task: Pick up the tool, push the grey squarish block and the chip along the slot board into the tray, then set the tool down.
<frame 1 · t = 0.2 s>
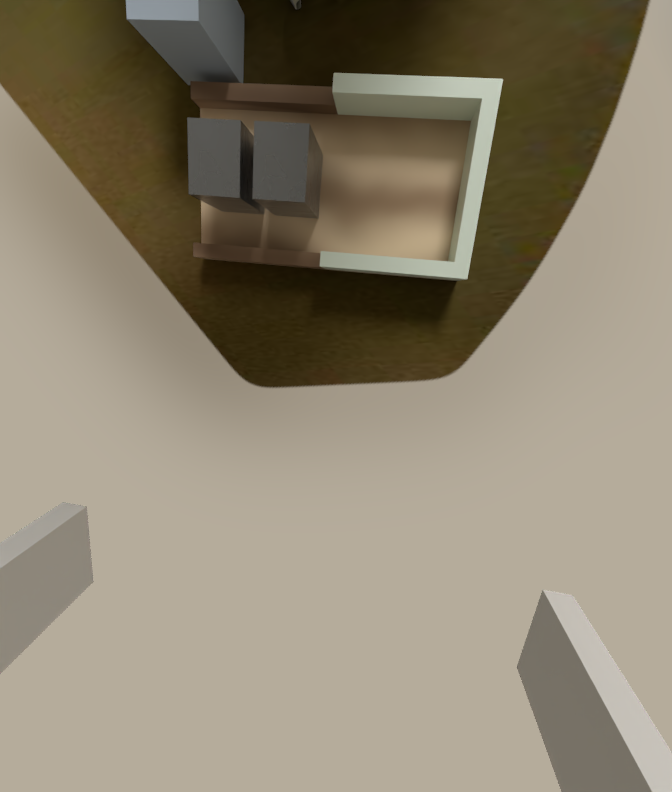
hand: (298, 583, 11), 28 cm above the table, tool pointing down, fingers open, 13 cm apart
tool: (215, 51, 31), on the table
chip b: (298, 185, 32), point 1 cm above the table, touching slot board
grey squarish block: (243, 182, 33), point 1 cm above the table, touching slot board
slot board: (333, 190, 33), on the table
tray: (400, 195, 32), resting on slot board
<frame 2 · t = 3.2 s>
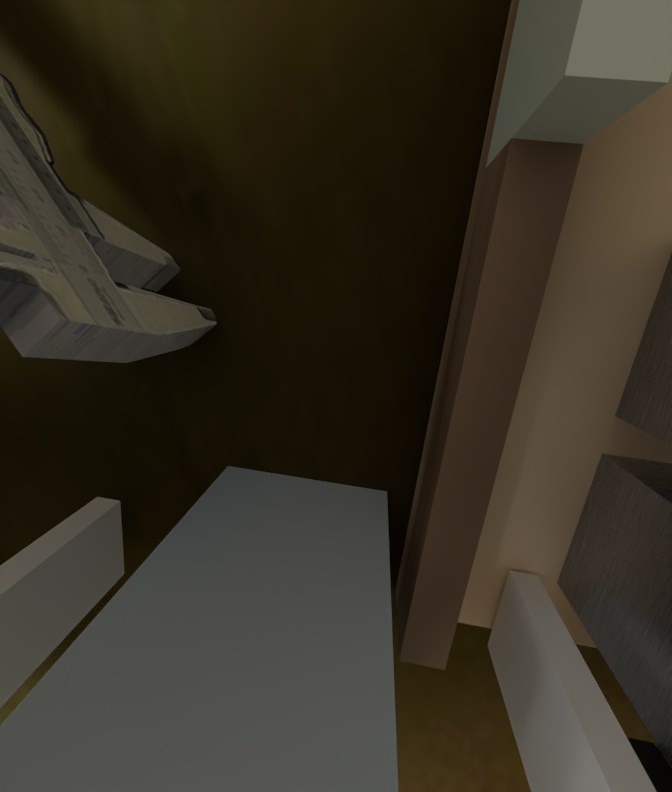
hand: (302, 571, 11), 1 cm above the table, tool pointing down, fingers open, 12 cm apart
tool: (299, 546, 12), on the table
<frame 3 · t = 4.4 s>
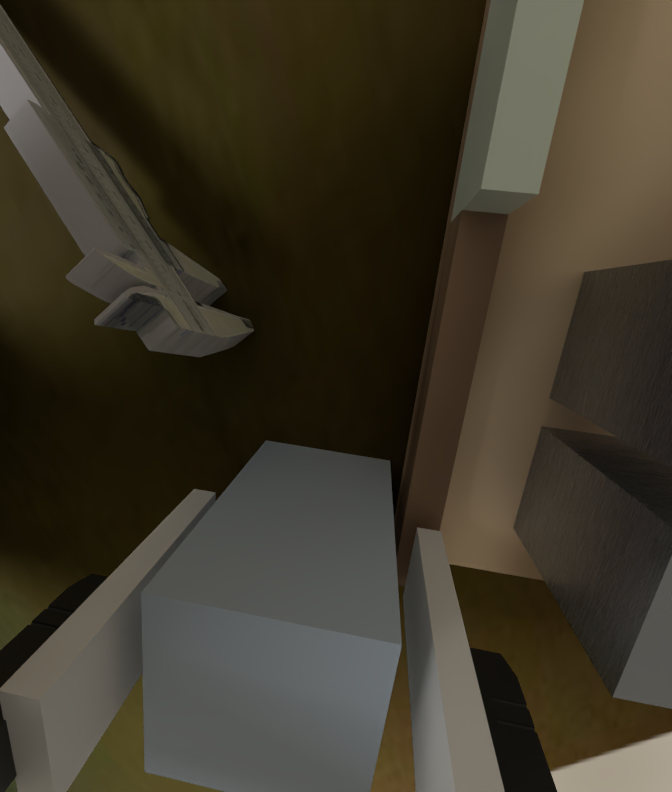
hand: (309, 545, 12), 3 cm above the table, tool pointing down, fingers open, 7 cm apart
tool: (320, 505, 15), on the table
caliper: (71, 96, 13), on the table
chip b: (649, 347, 11), point 1 cm above the table, touching slot board
grey squarish block: (600, 490, 13), point 1 cm above the table, touching slot board
slot board: (663, 249, 11), on the table
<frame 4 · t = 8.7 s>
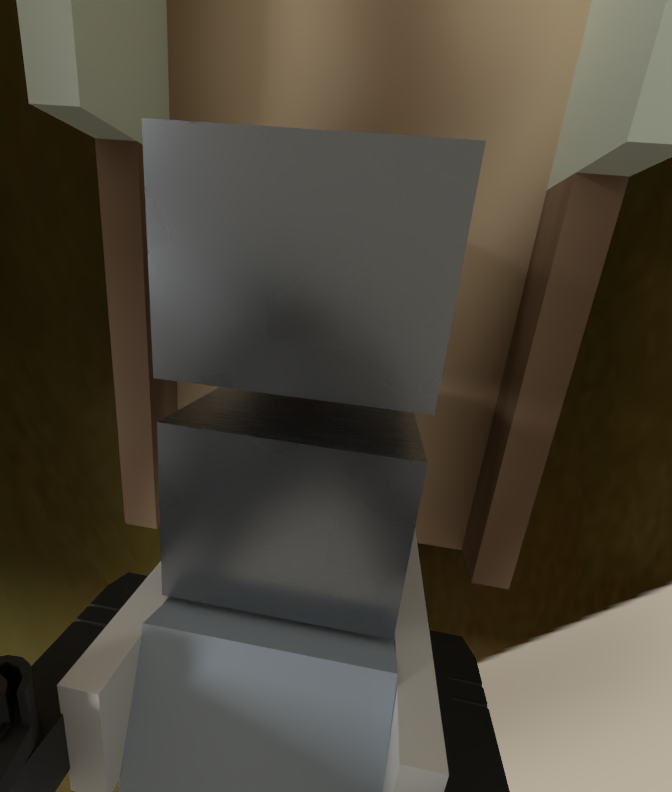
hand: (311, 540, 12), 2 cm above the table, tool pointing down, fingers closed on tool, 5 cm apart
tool: (311, 581, 15), point 1 cm above the table, tilted 18°, touching gripper
chip b: (339, 282, 12), point 1 cm above the table, touching slot board
grey squarish block: (325, 428, 13), point 1 cm above the table, touching gripper
slot board: (352, 182, 11), on the table
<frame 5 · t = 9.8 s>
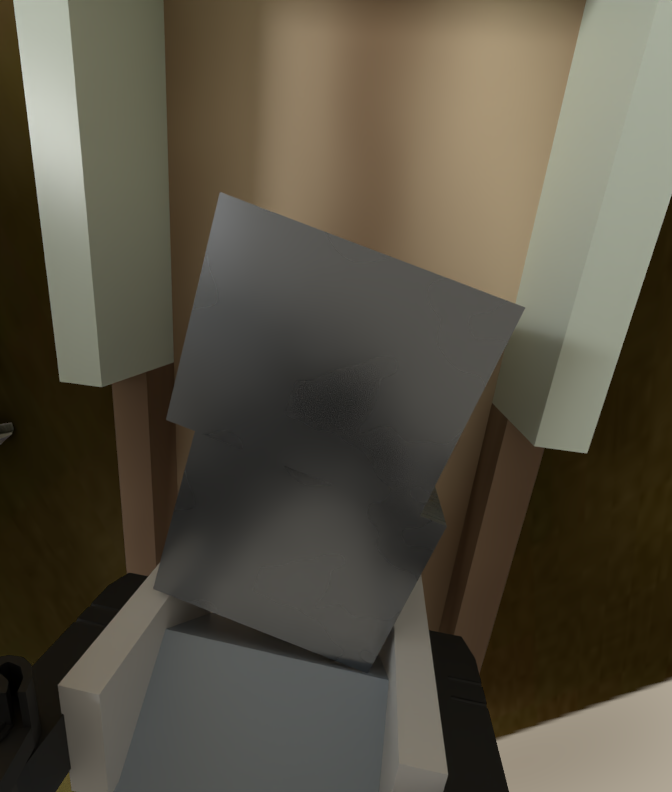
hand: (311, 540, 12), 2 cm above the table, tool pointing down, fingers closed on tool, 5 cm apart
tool: (293, 684, 14), point 3 cm above the table, tilted 41°, touching grey squarish block, gripper
chip b: (353, 333, 12), point 1 cm above the table, touching grey squarish block
grey squarish block: (328, 444, 13), point 1 cm above the table, touching chip b, gripper, slot board, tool
slot board: (330, 376, 13), on the table
tray: (348, 192, 12), resting on slot board
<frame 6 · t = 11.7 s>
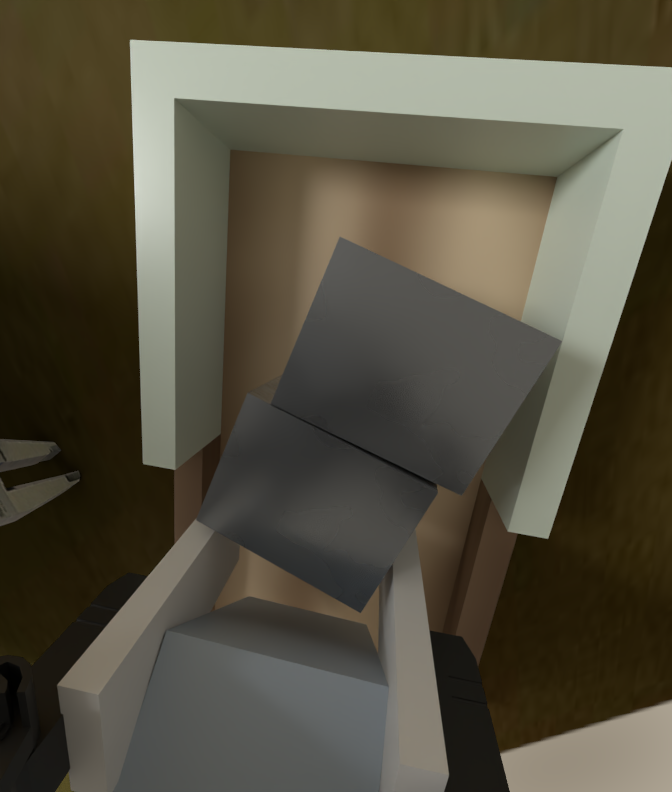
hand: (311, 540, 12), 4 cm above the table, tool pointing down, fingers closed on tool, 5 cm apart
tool: (291, 682, 14), point 4 cm above the table, tilted 40°, touching gripper
chip b: (399, 342, 14), point 1 cm above the table, touching slot board
grey squarish block: (347, 430, 15), point 1 cm above the table, touching gripper, slot board
slot board: (348, 447, 16), on the table
tray: (367, 307, 14), resting on slot board
when the fingers open (1 cm above the table, at t = 15.3 s): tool moves 2 cm and tips over, point 2 cm above the table.
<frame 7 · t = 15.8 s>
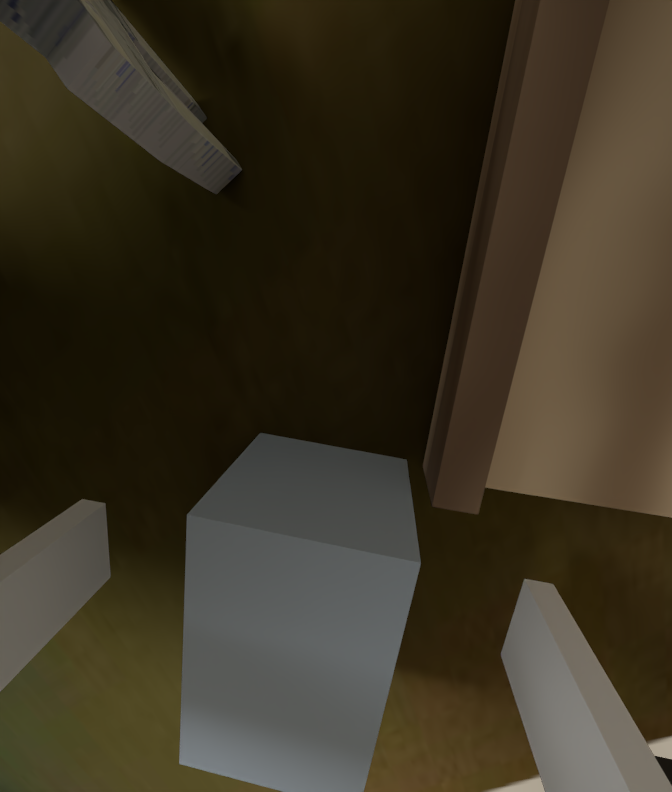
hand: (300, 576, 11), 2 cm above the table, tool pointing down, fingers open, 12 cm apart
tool: (289, 691, 12), point 2 cm above the table, tilted 90°
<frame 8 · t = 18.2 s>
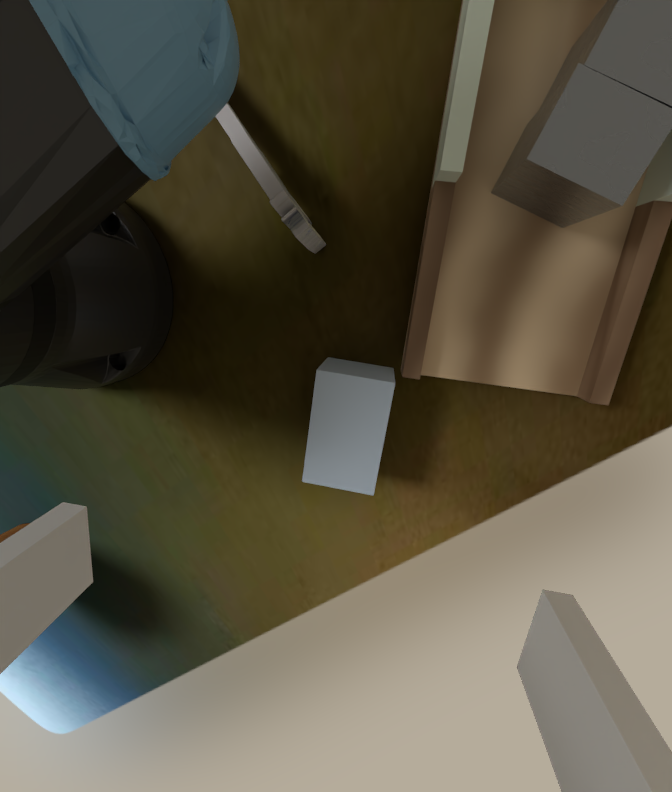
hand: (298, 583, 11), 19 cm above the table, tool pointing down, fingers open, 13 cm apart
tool: (341, 471, 28), point 2 cm above the table, tilted 90°
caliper: (233, 121, 25), on the table
chip b: (589, 106, 21), point 1 cm above the table, touching slot board
grey squarish block: (545, 177, 22), point 1 cm above the table, touching slot board
slot board: (536, 201, 23), on the table
tray: (563, 89, 22), resting on slot board
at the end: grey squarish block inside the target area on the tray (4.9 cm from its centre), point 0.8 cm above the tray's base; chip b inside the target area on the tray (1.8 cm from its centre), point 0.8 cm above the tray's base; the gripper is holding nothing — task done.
